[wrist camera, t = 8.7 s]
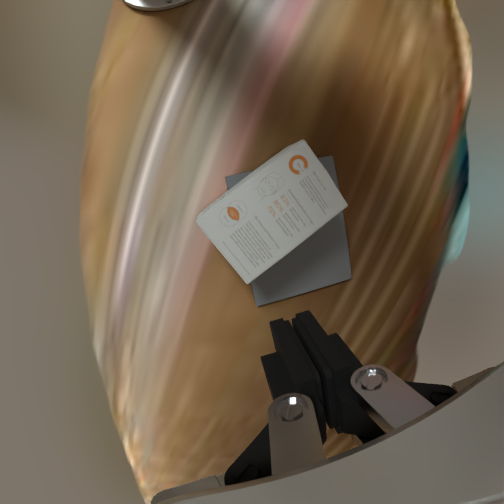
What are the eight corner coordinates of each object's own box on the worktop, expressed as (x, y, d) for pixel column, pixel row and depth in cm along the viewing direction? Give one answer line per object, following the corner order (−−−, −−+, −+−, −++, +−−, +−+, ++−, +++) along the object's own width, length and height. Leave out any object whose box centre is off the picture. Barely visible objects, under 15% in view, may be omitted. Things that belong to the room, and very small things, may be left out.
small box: (240, 267, 35) (327, 200, 34) (247, 286, 29) (350, 206, 28) (196, 213, 33) (288, 144, 32) (193, 221, 26) (305, 137, 26)
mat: (225, 176, 32) (225, 176, 32) (331, 155, 33) (332, 155, 33) (256, 304, 37) (256, 306, 36) (350, 277, 38) (351, 278, 37)
